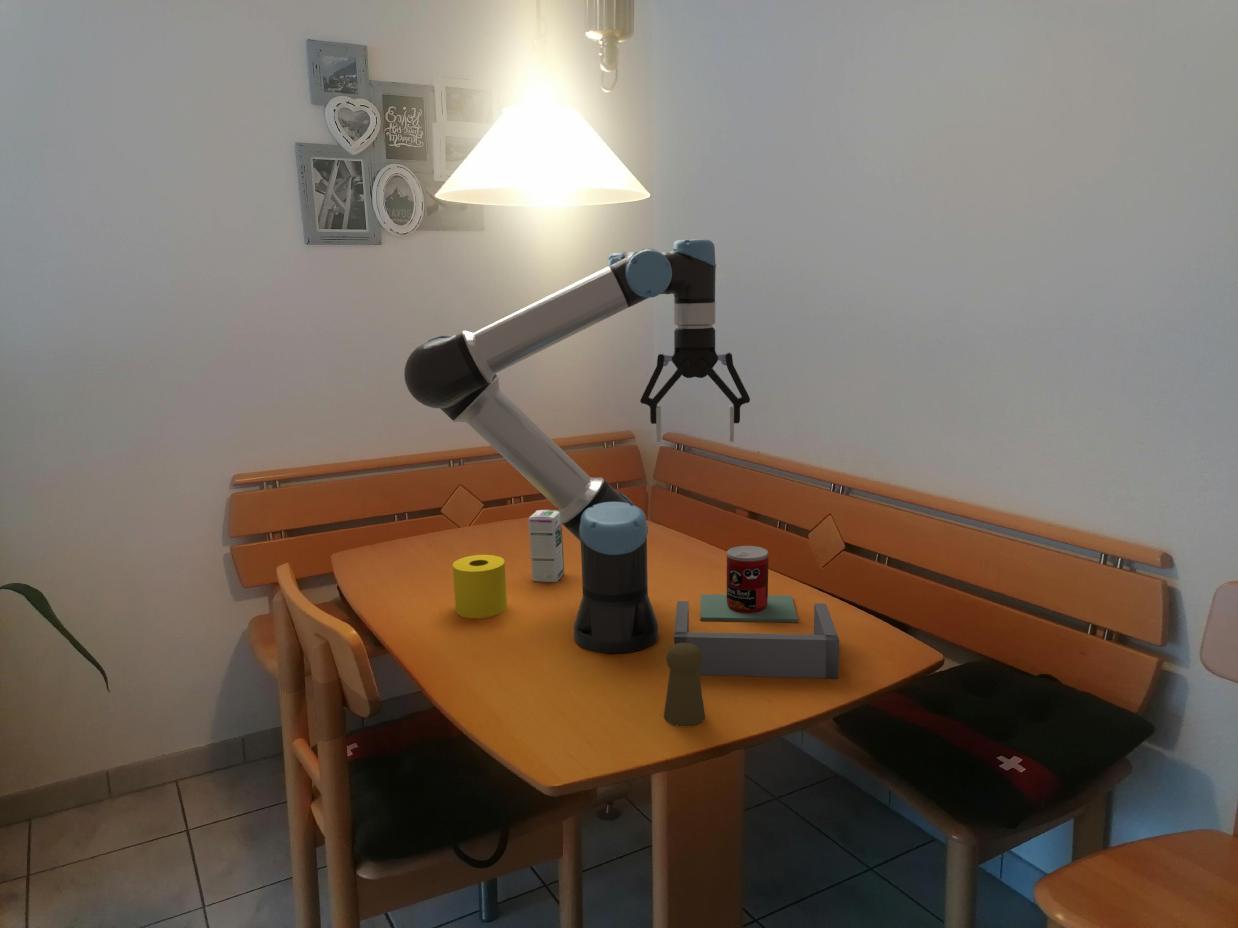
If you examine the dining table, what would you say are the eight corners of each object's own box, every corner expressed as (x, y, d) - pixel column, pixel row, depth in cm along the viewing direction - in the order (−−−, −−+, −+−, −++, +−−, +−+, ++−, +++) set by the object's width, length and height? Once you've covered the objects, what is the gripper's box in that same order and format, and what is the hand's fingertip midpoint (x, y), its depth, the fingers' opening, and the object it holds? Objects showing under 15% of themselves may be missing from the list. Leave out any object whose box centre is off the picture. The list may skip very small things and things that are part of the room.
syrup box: (557, 582, 181) (555, 517, 178) (531, 581, 182) (527, 516, 179) (564, 573, 186) (562, 509, 183) (538, 572, 188) (535, 509, 184)
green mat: (700, 620, 159) (700, 617, 159) (700, 596, 171) (700, 594, 171) (797, 622, 158) (797, 619, 157) (791, 598, 169) (791, 595, 169)
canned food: (718, 606, 164) (718, 552, 162) (743, 595, 170) (744, 542, 167) (750, 617, 159) (751, 560, 156) (775, 605, 164) (776, 550, 162)
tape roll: (498, 595, 174) (496, 551, 172) (513, 612, 165) (510, 566, 163) (450, 604, 170) (447, 559, 168) (462, 621, 161) (459, 574, 159)
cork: (681, 731, 120) (681, 659, 118) (655, 714, 125) (654, 645, 123) (713, 718, 124) (713, 647, 122) (686, 702, 129) (686, 634, 126)
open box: (674, 674, 138) (674, 636, 137) (677, 635, 153) (677, 601, 152) (838, 678, 135) (839, 640, 134) (825, 638, 150) (826, 603, 149)
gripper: (762, 324, 158) (760, 436, 163) (628, 326, 161) (630, 437, 165) (765, 326, 151) (763, 444, 155) (625, 329, 153) (627, 444, 158)
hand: (695, 440), depth 160 cm, fingers open, 13 cm apart
